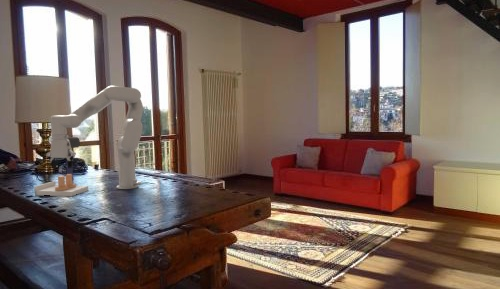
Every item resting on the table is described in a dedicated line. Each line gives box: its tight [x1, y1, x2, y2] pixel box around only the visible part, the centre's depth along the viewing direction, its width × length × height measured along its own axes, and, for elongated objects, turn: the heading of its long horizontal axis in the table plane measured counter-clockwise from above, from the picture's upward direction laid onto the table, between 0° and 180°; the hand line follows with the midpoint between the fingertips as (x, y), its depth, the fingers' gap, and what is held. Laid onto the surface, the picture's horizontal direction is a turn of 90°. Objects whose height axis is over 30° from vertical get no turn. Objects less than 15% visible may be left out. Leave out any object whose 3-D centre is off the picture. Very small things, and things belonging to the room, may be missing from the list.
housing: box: [34, 174, 89, 197], centre depth 209 cm, size 22×16×10 cm
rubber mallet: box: [66, 136, 81, 182], centre depth 241 cm, size 12×8×30 cm, turn 140°
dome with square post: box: [55, 175, 69, 191], centre depth 205 cm, size 7×7×10 cm
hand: (62, 167), depth 205 cm, fingers open, 9 cm apart
